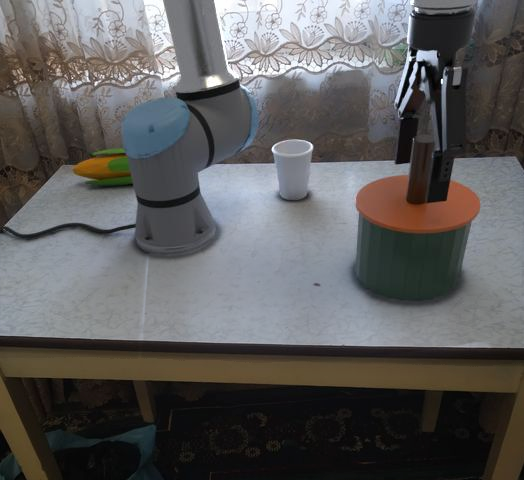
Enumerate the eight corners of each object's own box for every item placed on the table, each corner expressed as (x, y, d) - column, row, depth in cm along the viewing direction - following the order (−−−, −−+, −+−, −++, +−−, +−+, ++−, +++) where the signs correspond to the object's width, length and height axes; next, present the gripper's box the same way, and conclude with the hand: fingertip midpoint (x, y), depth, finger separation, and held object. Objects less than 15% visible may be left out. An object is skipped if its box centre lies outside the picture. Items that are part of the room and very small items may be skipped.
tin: (370, 309, 80) (377, 237, 72) (344, 253, 93) (347, 186, 84) (476, 296, 81) (494, 223, 73) (436, 242, 93) (448, 174, 85)
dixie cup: (279, 205, 108) (277, 157, 101) (270, 188, 114) (267, 142, 108) (318, 199, 109) (318, 151, 102) (307, 183, 115) (307, 136, 108)
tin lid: (373, 244, 72) (380, 172, 65) (342, 188, 85) (345, 123, 78) (501, 228, 73) (520, 155, 66) (450, 176, 86) (461, 111, 79)
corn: (153, 151, 114) (61, 158, 114) (159, 185, 119) (71, 192, 119) (157, 141, 120) (70, 148, 120) (163, 174, 125) (79, 180, 125)
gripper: (525, 24, 53) (480, 217, 67) (435, -10, 71) (414, 146, 86) (453, 32, 53) (423, 224, 67) (381, -5, 71) (369, 151, 85)
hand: (418, 180), depth 76 cm, fingers open, 13 cm apart
